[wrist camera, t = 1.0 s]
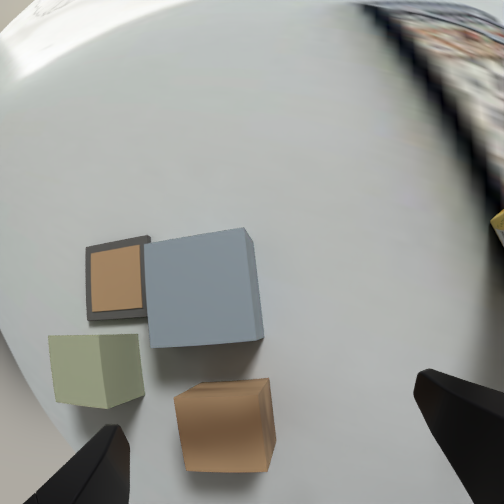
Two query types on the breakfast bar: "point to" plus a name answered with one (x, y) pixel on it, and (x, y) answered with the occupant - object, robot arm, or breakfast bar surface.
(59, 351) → the olive cube
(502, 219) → the candy box
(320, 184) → the breakfast bar surface
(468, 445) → the robot arm
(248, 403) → the walnut cube
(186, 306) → the base block
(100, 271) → the mat
